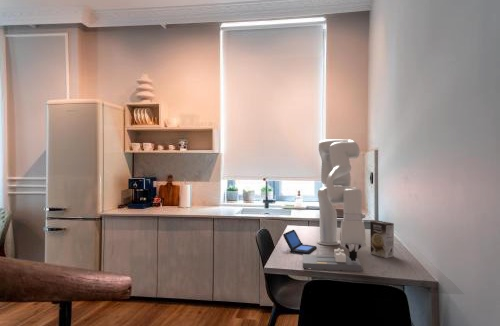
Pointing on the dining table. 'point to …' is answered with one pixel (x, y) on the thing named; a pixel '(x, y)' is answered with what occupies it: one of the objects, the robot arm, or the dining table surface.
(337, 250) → the inner tab
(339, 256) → the white small block
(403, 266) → the dining table surface
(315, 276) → the dining table surface
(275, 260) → the dining table surface
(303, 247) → the handheld game console
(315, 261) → the switch panel
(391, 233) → the coffee box
